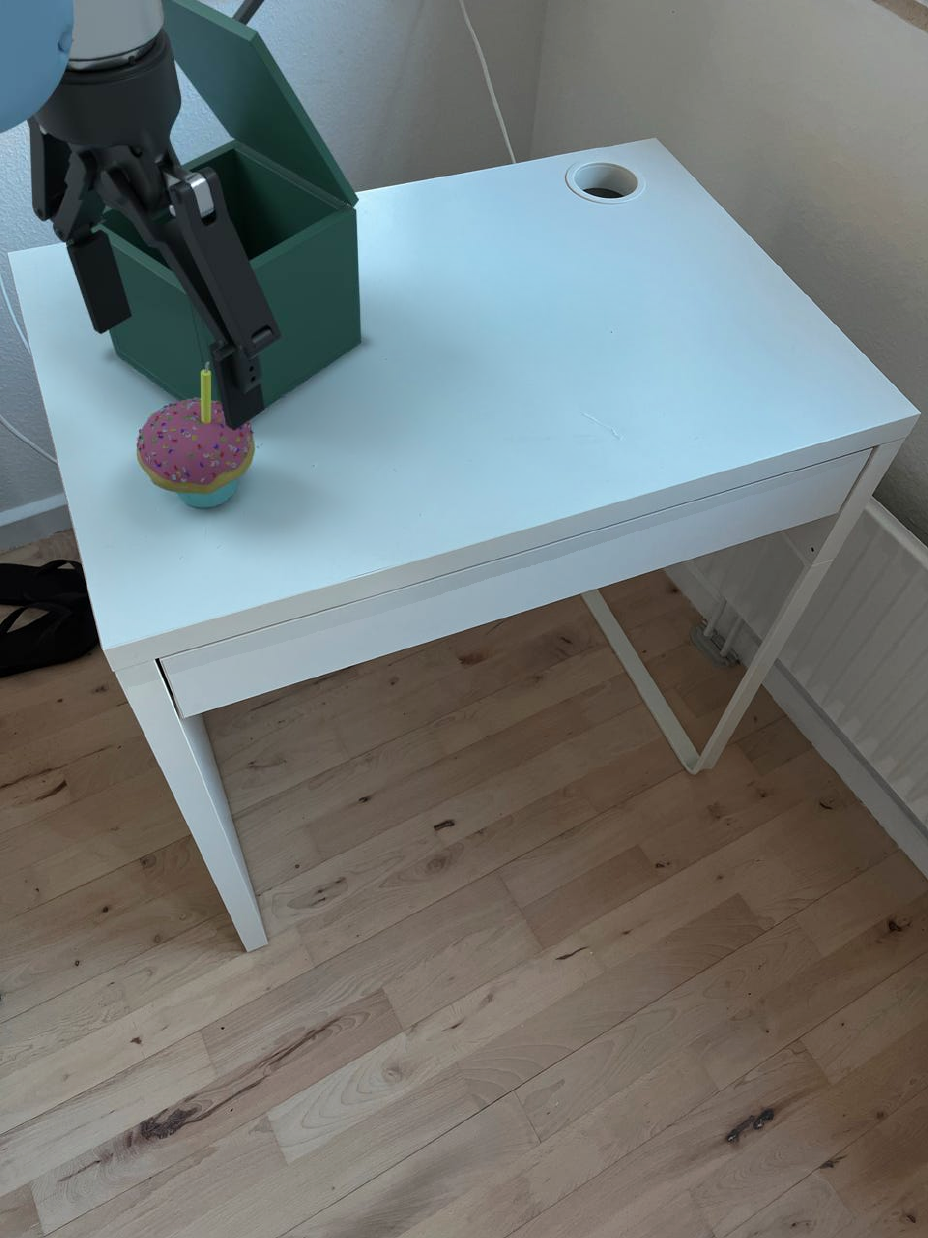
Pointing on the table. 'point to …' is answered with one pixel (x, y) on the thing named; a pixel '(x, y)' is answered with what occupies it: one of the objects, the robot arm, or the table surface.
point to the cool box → (283, 264)
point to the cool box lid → (250, 90)
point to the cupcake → (195, 449)
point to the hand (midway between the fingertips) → (177, 368)
